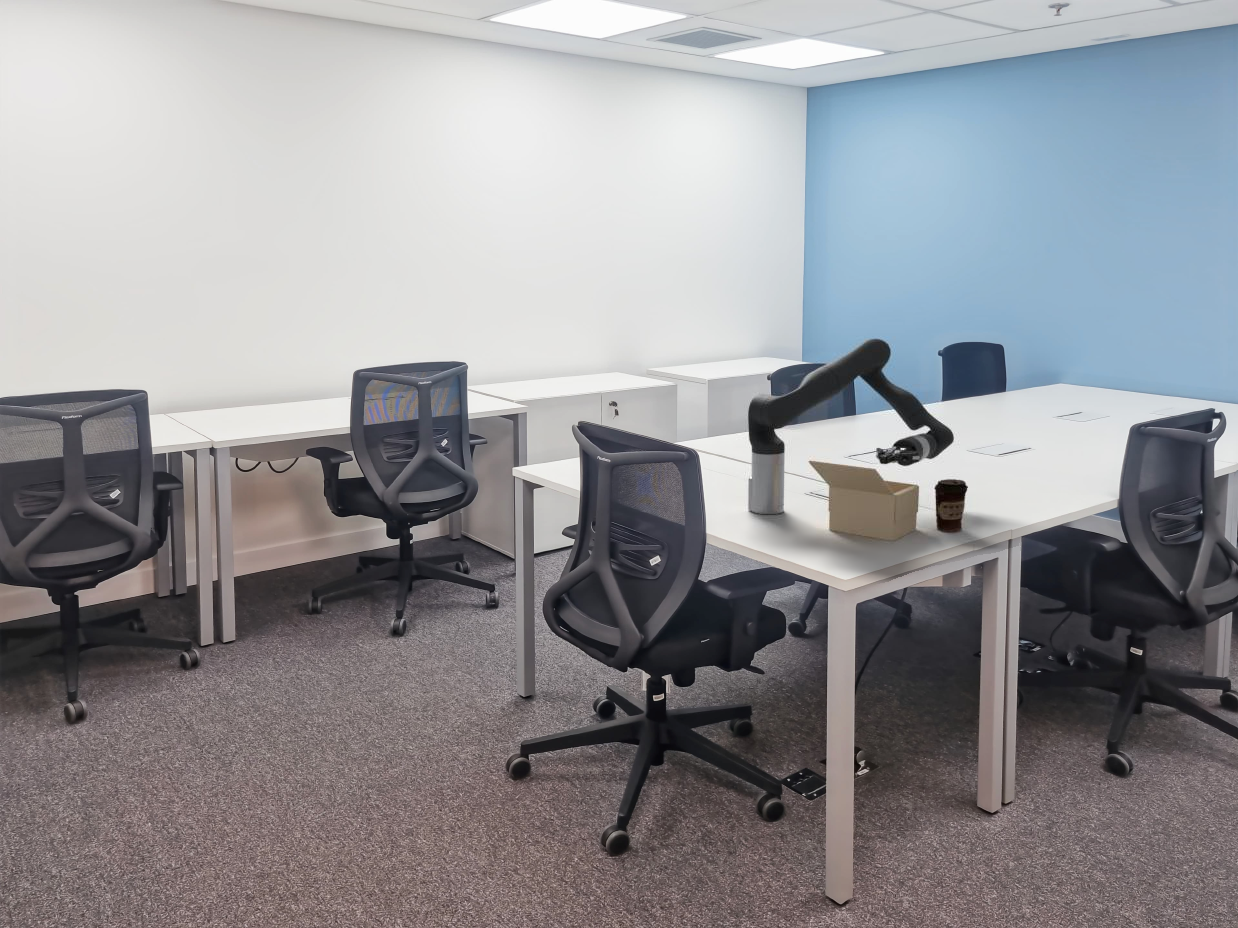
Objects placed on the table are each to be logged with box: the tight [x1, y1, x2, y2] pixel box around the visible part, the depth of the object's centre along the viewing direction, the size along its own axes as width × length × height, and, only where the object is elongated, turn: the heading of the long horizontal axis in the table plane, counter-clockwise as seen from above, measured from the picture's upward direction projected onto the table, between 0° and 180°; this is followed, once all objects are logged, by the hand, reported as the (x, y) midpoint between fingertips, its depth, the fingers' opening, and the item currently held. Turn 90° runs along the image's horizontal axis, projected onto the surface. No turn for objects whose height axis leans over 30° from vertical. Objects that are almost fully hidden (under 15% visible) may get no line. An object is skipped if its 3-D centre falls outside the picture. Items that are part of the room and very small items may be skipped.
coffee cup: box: [934, 478, 969, 532], centre depth 264 cm, size 9×8×13 cm
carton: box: [828, 480, 920, 542], centre depth 265 cm, size 19×14×12 cm
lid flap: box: [808, 460, 894, 496], centre depth 253 cm, size 18×14×1 cm
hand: (882, 460), depth 266 cm, fingers closed
